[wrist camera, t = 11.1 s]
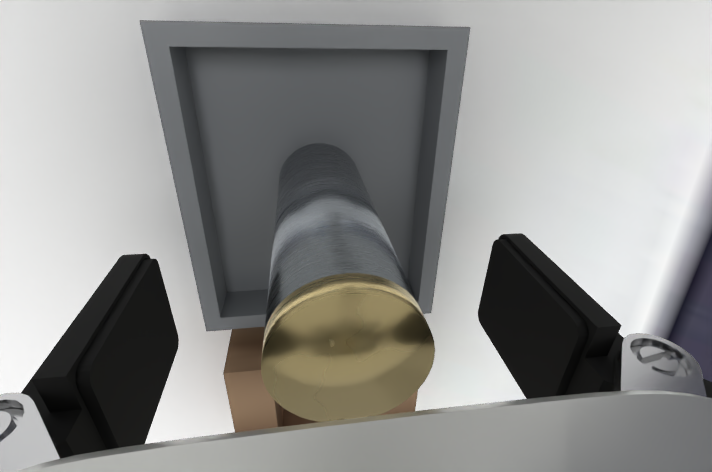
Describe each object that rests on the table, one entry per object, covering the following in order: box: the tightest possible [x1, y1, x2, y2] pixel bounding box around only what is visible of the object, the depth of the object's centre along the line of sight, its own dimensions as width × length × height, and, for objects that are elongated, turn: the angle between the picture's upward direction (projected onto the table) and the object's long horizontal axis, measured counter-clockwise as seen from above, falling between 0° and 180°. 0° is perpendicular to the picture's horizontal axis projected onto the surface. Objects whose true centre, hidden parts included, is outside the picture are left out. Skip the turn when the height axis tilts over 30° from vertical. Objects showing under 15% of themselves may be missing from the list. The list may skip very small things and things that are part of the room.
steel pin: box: [261, 143, 435, 422], centre depth 14 cm, size 4×4×12 cm
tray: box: [140, 20, 470, 331], centre depth 19 cm, size 14×12×3 cm
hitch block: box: [223, 327, 418, 432], centre depth 24 cm, size 10×10×5 cm
